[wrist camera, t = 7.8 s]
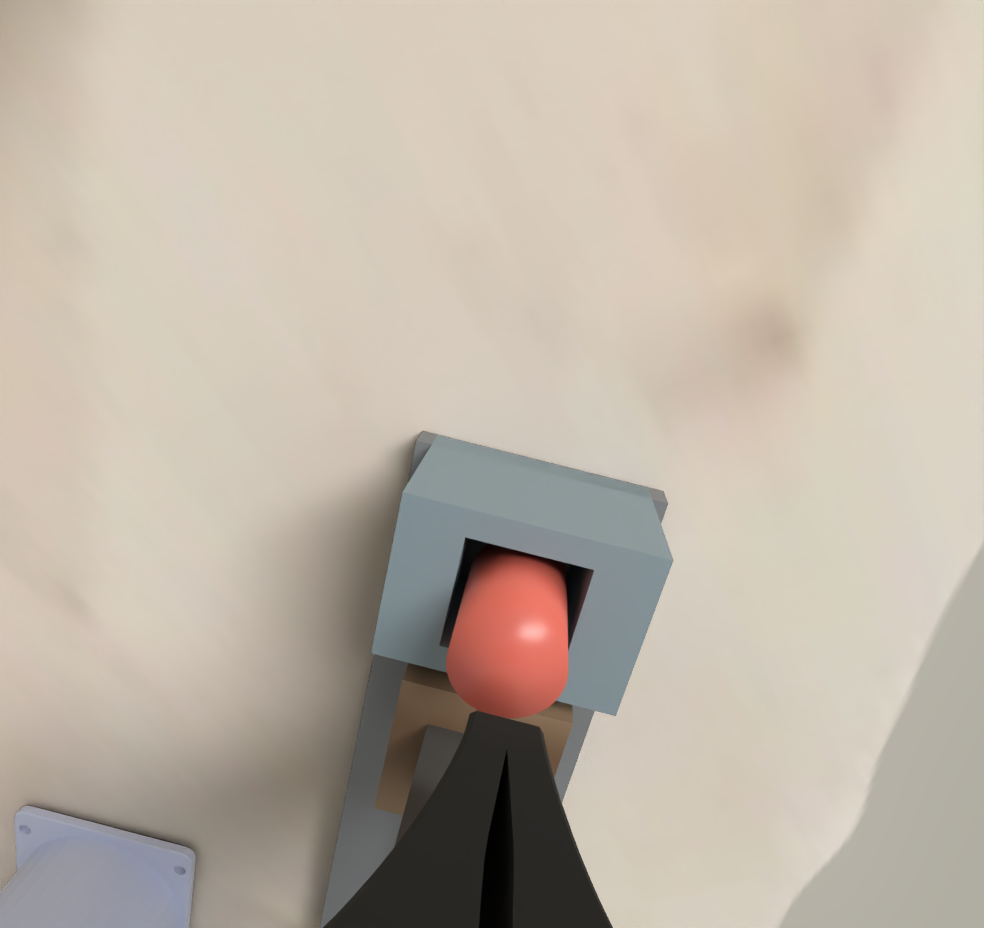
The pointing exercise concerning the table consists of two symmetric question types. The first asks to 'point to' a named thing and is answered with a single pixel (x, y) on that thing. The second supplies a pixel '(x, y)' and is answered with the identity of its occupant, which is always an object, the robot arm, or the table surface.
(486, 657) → the plunger
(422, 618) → the rail bed
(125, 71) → the table surface
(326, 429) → the table surface
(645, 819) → the table surface
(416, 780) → the carriage
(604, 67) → the table surface
